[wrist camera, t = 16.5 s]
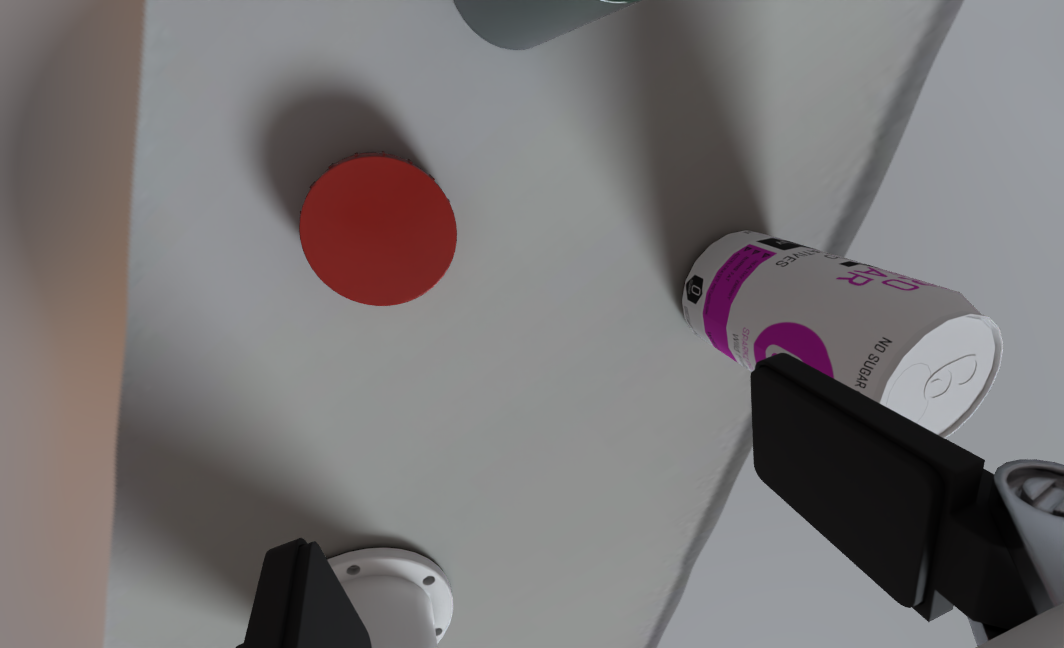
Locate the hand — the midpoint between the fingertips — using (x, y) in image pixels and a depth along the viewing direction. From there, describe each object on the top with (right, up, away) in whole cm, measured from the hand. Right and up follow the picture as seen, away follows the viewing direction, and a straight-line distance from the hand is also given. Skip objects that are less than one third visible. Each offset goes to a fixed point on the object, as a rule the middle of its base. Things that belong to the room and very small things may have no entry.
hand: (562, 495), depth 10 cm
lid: (-8, +8, +15) cm, 19 cm away
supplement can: (+13, +6, +25) cm, 29 cm away
